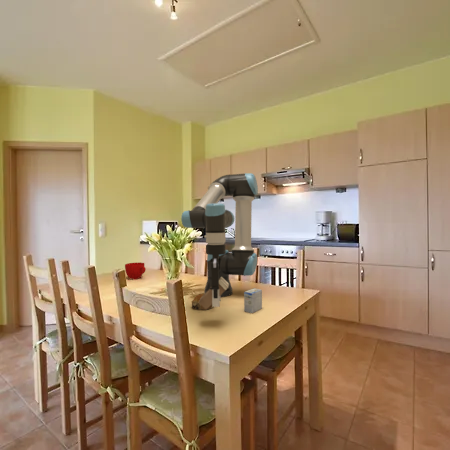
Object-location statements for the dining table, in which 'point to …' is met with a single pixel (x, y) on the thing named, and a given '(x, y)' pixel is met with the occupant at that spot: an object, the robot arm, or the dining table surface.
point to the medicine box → (252, 300)
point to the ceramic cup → (134, 270)
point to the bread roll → (196, 303)
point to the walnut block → (207, 297)
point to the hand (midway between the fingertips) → (216, 303)
